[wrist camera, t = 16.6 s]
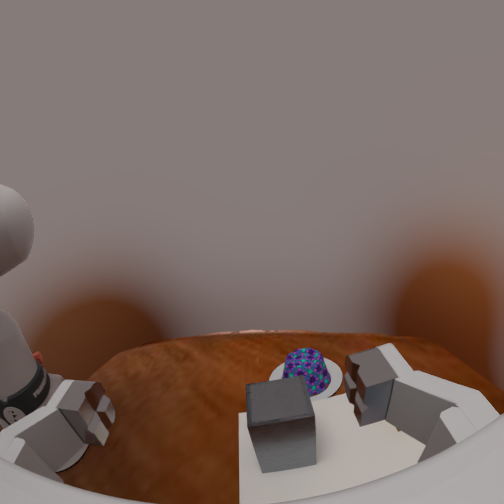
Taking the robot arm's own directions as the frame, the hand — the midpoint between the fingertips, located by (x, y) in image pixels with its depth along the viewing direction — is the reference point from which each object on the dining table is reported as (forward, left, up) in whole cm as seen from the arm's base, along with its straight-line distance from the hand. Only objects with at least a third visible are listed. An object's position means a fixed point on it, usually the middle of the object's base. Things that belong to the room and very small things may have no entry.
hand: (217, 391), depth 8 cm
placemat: (-8, +16, -26) cm, 32 cm away
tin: (-12, +9, -25) cm, 29 cm away
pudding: (-22, +20, -27) cm, 40 cm away
